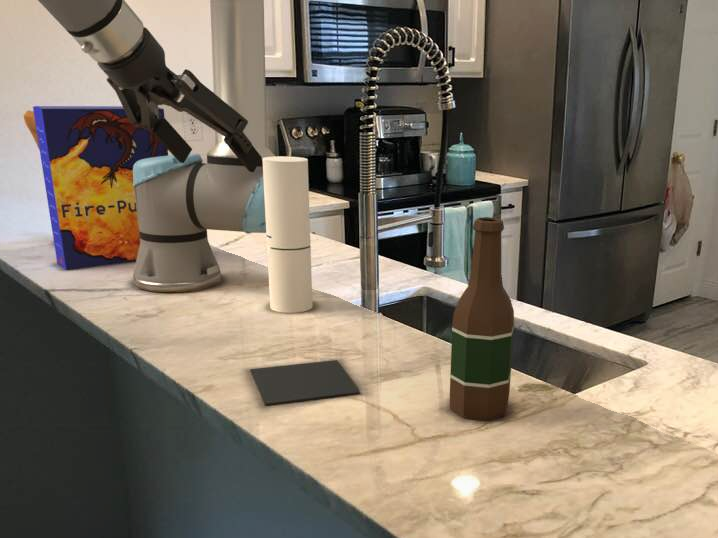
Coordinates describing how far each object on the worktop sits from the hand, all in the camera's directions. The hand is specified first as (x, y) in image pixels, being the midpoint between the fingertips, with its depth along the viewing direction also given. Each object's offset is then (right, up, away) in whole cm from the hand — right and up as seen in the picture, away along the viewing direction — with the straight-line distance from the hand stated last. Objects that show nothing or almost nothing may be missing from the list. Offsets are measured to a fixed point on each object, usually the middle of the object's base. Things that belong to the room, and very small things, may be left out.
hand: (220, 160), depth 111 cm
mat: (+14, -32, -10) cm, 37 cm away
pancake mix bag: (-51, -5, +53) cm, 74 cm away
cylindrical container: (+5, -20, +21) cm, 30 cm away
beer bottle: (+38, -36, -15) cm, 54 cm away
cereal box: (-36, -9, +45) cm, 58 cm away
